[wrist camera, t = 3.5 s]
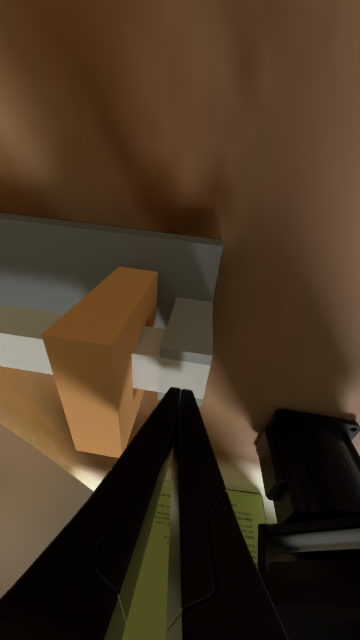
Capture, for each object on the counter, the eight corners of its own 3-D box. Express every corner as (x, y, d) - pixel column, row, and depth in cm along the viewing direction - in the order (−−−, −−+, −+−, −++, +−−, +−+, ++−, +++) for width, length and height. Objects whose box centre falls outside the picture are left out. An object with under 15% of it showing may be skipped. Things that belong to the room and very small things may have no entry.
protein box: (135, 475, 28) (65, 740, 14) (262, 492, 26) (315, 812, 13) (144, 509, 33) (99, 724, 20) (249, 525, 31) (277, 773, 18)
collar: (158, 271, 11) (111, 345, 6) (154, 361, 14) (122, 458, 9) (119, 266, 11) (41, 334, 6) (124, 356, 14) (75, 450, 9)
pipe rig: (222, 239, 12) (229, 282, 7) (199, 363, 17) (192, 445, 11) (-119, 197, 13) (-340, 206, 8) (-49, 325, 18) (-157, 383, 12)
